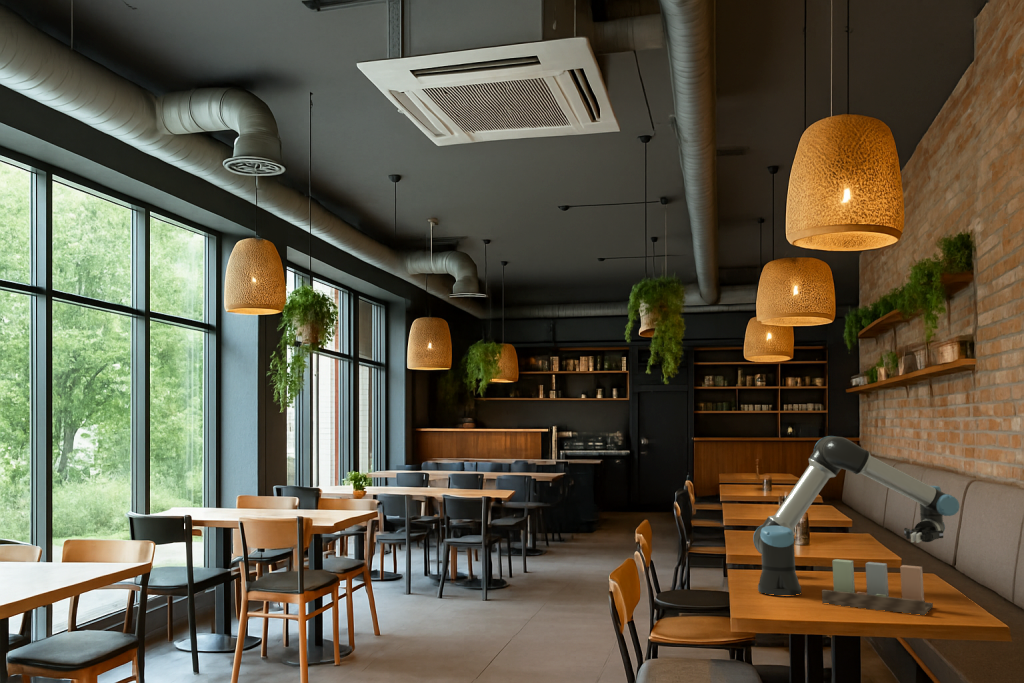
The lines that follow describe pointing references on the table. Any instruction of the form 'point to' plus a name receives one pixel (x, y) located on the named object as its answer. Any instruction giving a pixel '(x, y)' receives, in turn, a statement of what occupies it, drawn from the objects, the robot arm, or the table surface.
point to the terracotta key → (912, 582)
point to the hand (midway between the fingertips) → (914, 538)
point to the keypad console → (876, 602)
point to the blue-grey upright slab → (877, 578)
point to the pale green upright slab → (843, 575)
